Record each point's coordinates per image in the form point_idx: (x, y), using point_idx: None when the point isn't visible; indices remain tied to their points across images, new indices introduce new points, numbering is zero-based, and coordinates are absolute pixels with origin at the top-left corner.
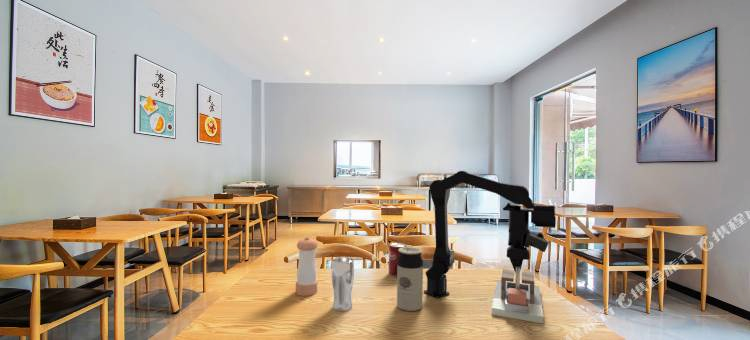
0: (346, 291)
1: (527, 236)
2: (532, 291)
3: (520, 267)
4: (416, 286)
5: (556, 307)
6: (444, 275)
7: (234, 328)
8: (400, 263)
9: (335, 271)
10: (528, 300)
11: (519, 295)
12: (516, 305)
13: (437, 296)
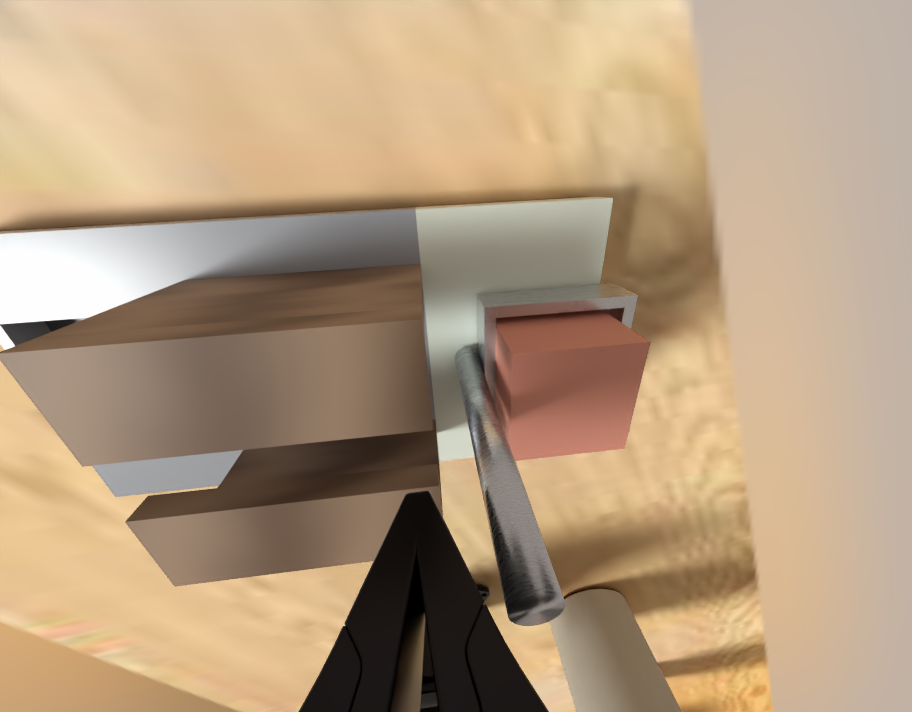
0: None
1: None
2: (422, 300)
3: (469, 573)
4: (667, 693)
5: (256, 90)
6: (425, 679)
7: (754, 706)
8: None
9: None
10: (513, 308)
11: (634, 383)
12: None
13: (486, 592)
